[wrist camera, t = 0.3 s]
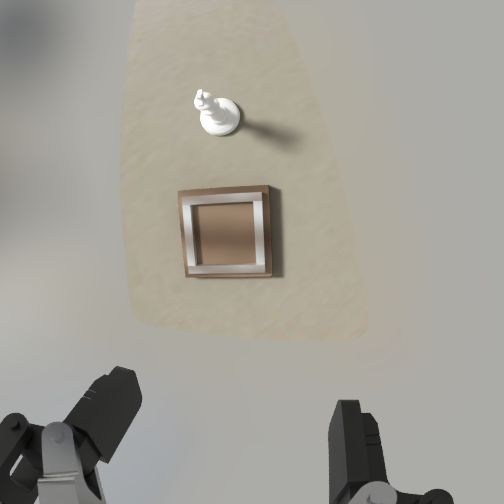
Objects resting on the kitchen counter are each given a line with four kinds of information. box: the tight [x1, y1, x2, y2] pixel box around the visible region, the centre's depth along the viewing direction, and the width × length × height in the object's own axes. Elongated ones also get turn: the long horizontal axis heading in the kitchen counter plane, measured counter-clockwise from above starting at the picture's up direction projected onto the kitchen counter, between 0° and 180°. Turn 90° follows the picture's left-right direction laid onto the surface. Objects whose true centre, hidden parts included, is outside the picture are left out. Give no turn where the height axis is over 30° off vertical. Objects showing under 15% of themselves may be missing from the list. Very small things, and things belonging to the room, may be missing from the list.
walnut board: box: [178, 185, 272, 277], centre depth 36 cm, size 11×11×2 cm
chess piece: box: [194, 89, 240, 136], centre depth 29 cm, size 5×5×10 cm
